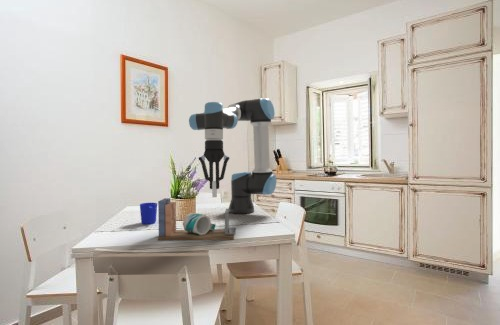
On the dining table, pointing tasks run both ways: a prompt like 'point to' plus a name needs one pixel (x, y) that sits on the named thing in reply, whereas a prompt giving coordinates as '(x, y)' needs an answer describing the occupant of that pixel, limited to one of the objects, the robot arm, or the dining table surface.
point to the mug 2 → (197, 224)
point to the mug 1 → (148, 213)
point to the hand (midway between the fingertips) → (214, 196)
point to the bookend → (228, 230)
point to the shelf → (170, 233)
